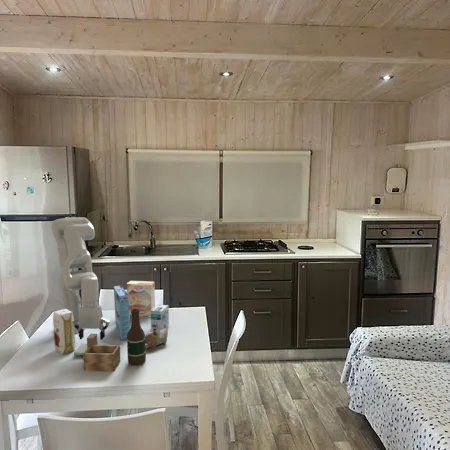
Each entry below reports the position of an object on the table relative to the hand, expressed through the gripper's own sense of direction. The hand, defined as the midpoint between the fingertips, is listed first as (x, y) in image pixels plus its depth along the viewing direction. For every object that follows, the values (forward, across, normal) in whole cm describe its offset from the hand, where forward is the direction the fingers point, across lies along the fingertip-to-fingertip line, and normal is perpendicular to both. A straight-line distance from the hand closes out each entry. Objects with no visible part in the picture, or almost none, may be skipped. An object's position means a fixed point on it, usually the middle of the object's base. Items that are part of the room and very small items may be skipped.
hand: (91, 338), depth 189 cm
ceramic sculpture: (+7, +27, +8) cm, 29 cm away
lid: (+7, 0, -1) cm, 7 cm away
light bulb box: (+7, +25, +32) cm, 42 cm away
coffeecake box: (+8, +11, +51) cm, 53 cm away
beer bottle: (+6, +23, -10) cm, 26 cm away
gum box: (+7, +7, +23) cm, 26 cm away
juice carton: (+7, -14, +1) cm, 15 cm away
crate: (+6, +9, -14) cm, 18 cm away
